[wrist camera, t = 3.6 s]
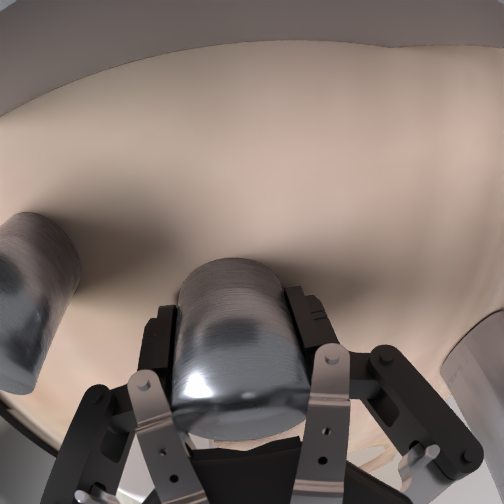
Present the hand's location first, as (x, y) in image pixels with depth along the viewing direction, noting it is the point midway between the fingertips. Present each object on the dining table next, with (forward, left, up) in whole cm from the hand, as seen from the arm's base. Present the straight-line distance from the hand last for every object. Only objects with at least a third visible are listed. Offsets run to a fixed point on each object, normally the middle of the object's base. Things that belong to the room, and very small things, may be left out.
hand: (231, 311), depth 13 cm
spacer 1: (+9, -4, -1) cm, 10 cm away
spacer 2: (0, 0, -1) cm, 1 cm away
